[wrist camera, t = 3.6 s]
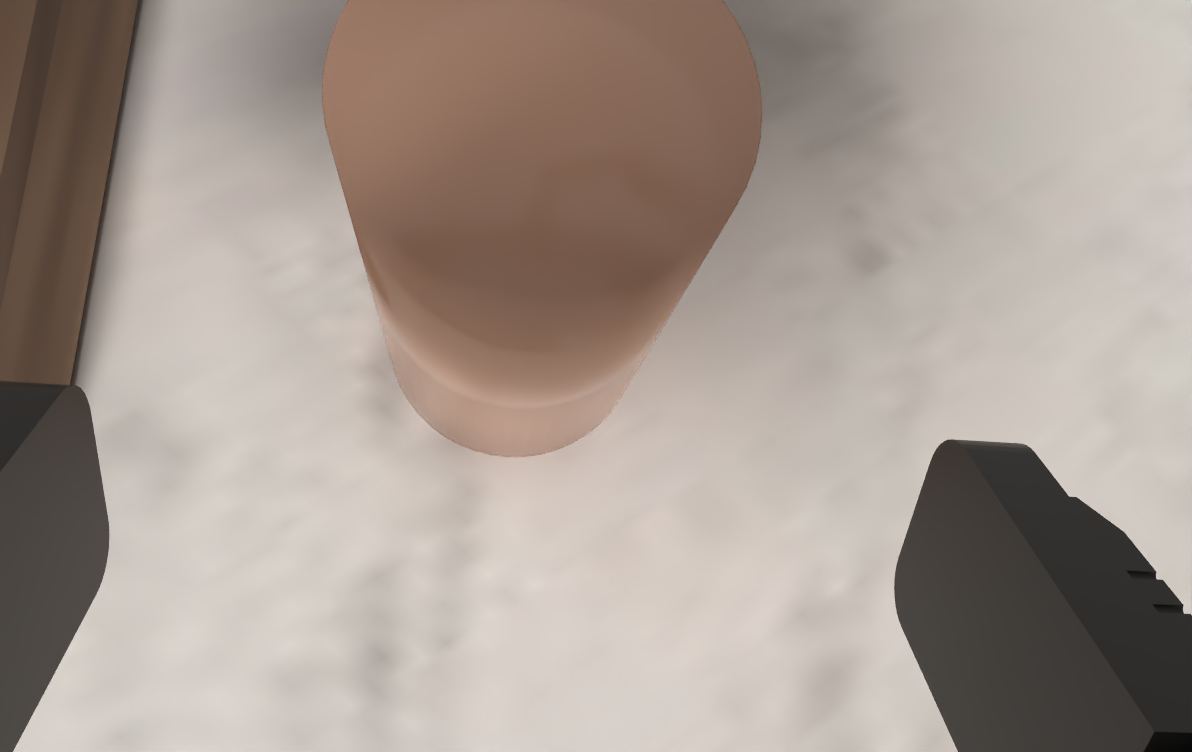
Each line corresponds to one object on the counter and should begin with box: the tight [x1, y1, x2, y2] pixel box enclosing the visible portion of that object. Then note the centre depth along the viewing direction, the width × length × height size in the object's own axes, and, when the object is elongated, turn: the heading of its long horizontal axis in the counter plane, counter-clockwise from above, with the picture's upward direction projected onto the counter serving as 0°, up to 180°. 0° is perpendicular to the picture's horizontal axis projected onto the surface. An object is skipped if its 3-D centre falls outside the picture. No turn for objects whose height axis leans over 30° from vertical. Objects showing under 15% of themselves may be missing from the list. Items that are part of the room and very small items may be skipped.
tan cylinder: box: [322, 0, 762, 457], centre depth 15 cm, size 5×5×9 cm
